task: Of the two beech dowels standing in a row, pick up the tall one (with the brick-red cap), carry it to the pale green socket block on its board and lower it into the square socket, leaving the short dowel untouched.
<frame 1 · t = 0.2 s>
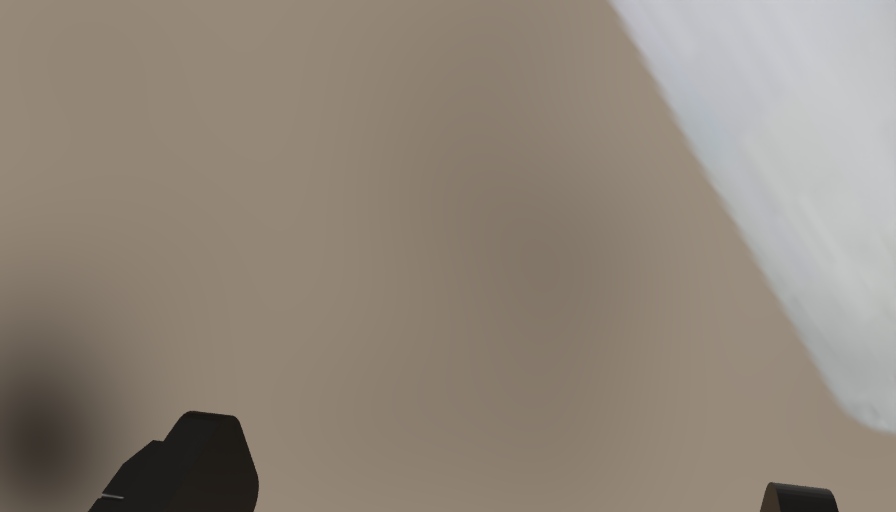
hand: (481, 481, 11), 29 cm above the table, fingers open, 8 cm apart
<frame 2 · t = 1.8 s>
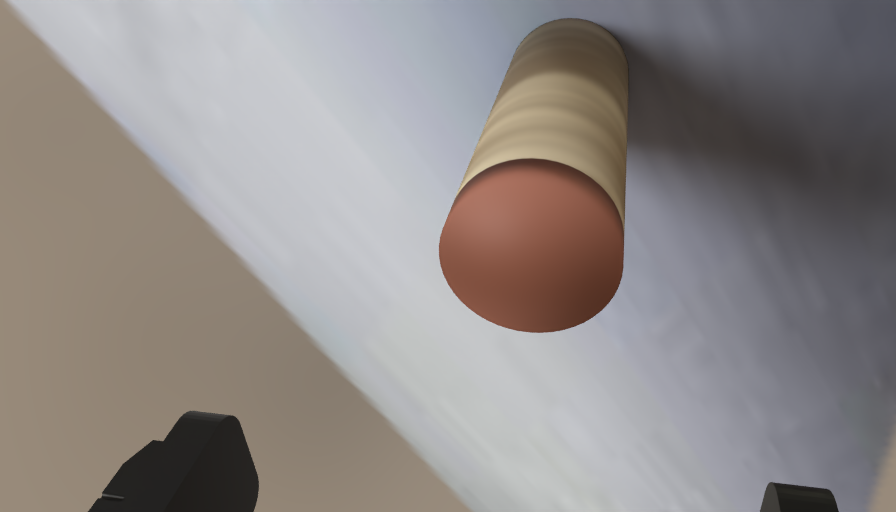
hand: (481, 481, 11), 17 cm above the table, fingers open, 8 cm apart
tall dowel: (568, 77, 24), on the table
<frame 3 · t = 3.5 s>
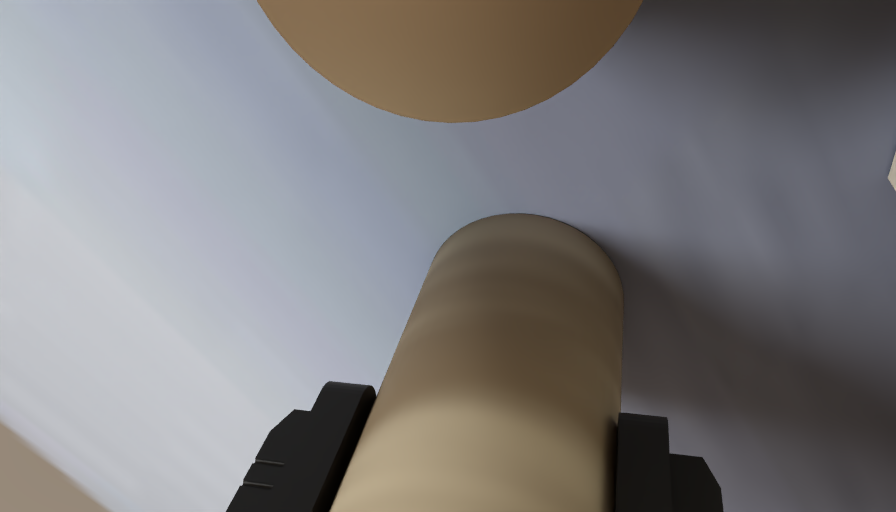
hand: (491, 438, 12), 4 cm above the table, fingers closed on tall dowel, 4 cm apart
tall dowel: (523, 297, 15), on the table, touching gripper
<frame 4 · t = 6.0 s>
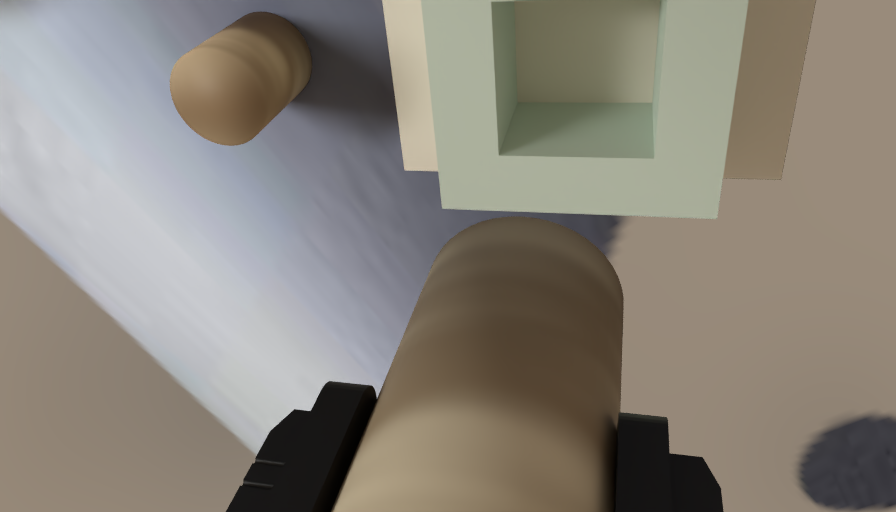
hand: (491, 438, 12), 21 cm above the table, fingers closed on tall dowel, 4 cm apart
tall dowel: (523, 300, 15), point 17 cm above the table, touching gripper
socket block: (586, 28, 28), on the table
short dowel: (269, 56, 32), on the table
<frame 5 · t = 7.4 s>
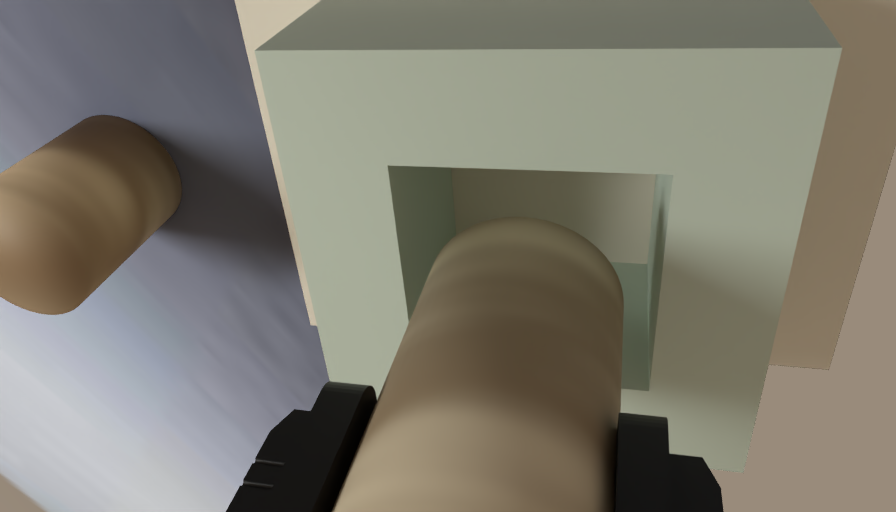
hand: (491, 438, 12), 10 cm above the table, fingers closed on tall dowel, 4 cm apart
tall dowel: (523, 300, 15), point 6 cm above the table, touching gripper
socket block: (553, 157, 20), on the table
short dowel: (124, 172, 23), on the table
when the fingers open (7 cm above the table, at t = 8.4 s): tall dowel drops 2 cm, resting on socket block.
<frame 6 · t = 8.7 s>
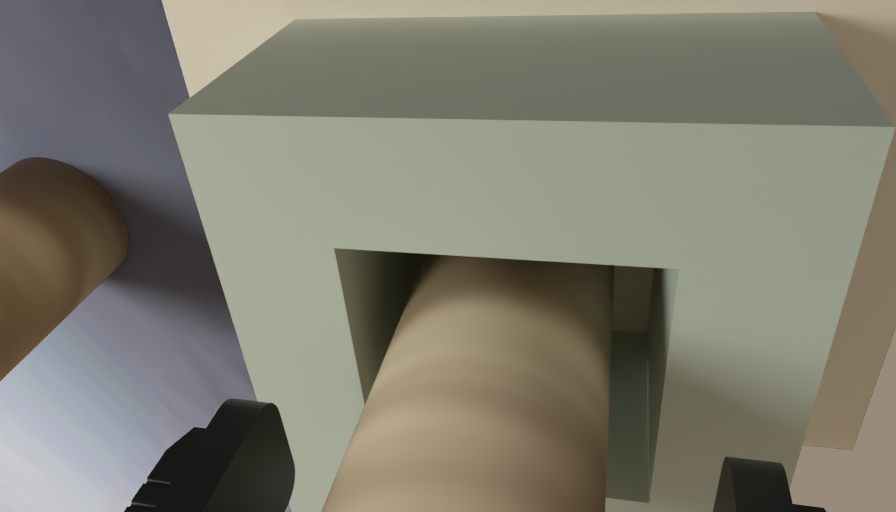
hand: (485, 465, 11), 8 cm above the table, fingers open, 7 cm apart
tall dowel: (527, 235, 17), point 1 cm above the table, touching socket block
socket block: (540, 212, 17), on the table
short dowel: (65, 218, 21), on the table
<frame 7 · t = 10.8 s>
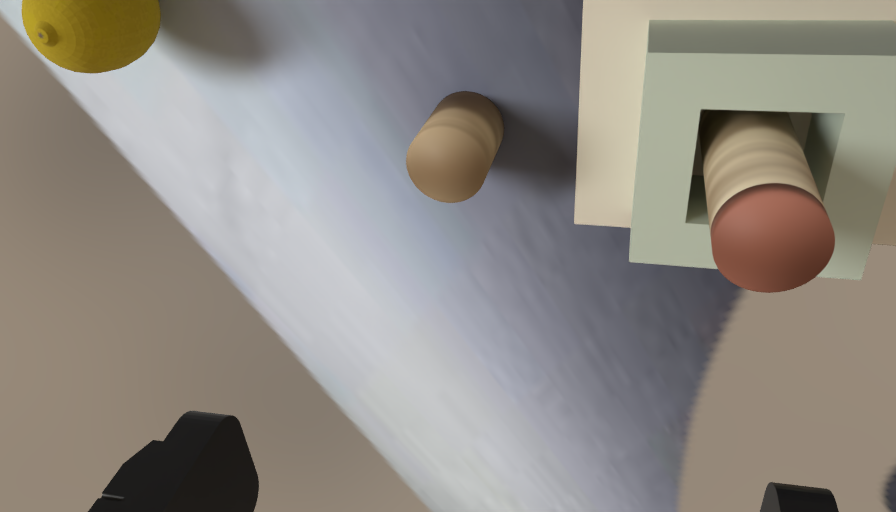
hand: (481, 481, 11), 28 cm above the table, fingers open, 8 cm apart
tall dowel: (743, 126, 34), point 1 cm above the table, touching socket block
socket block: (745, 118, 35), on the table
short dowel: (467, 126, 39), on the table
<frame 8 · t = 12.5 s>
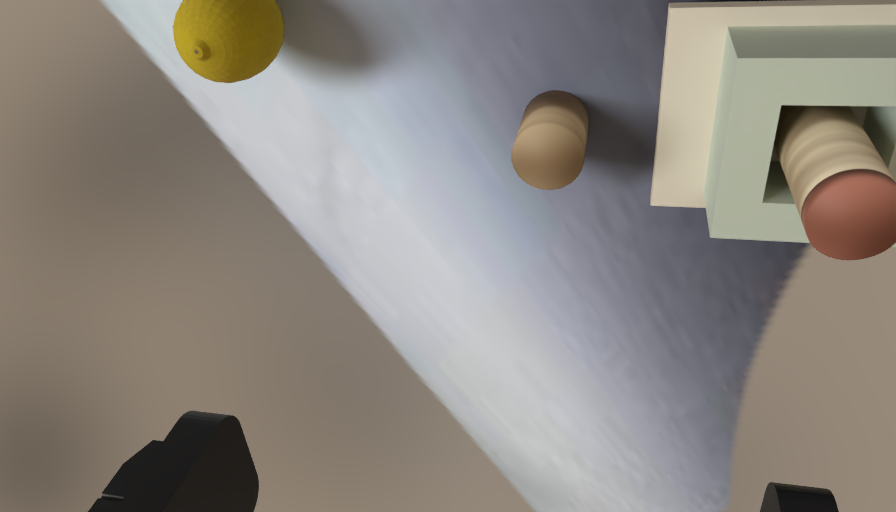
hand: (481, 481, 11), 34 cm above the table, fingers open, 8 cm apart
tall dowel: (806, 117, 39), point 1 cm above the table, touching socket block
lemon: (262, 9, 44), on the table
socket block: (807, 109, 40), on the table
short dowel: (555, 121, 44), on the table
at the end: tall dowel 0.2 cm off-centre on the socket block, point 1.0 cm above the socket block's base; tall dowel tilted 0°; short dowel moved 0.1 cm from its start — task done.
